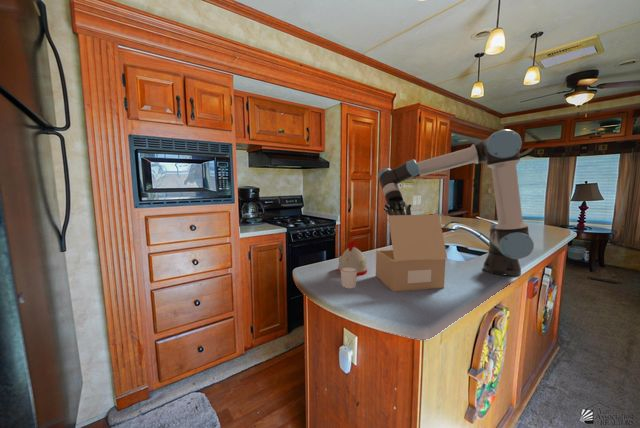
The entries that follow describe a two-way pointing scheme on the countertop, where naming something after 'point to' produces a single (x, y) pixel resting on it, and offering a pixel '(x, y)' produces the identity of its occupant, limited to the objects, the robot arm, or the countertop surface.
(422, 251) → the carton lid
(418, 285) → the carton
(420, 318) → the countertop surface
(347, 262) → the kitchen timer
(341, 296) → the countertop surface
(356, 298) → the countertop surface
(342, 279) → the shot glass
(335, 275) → the countertop surface
